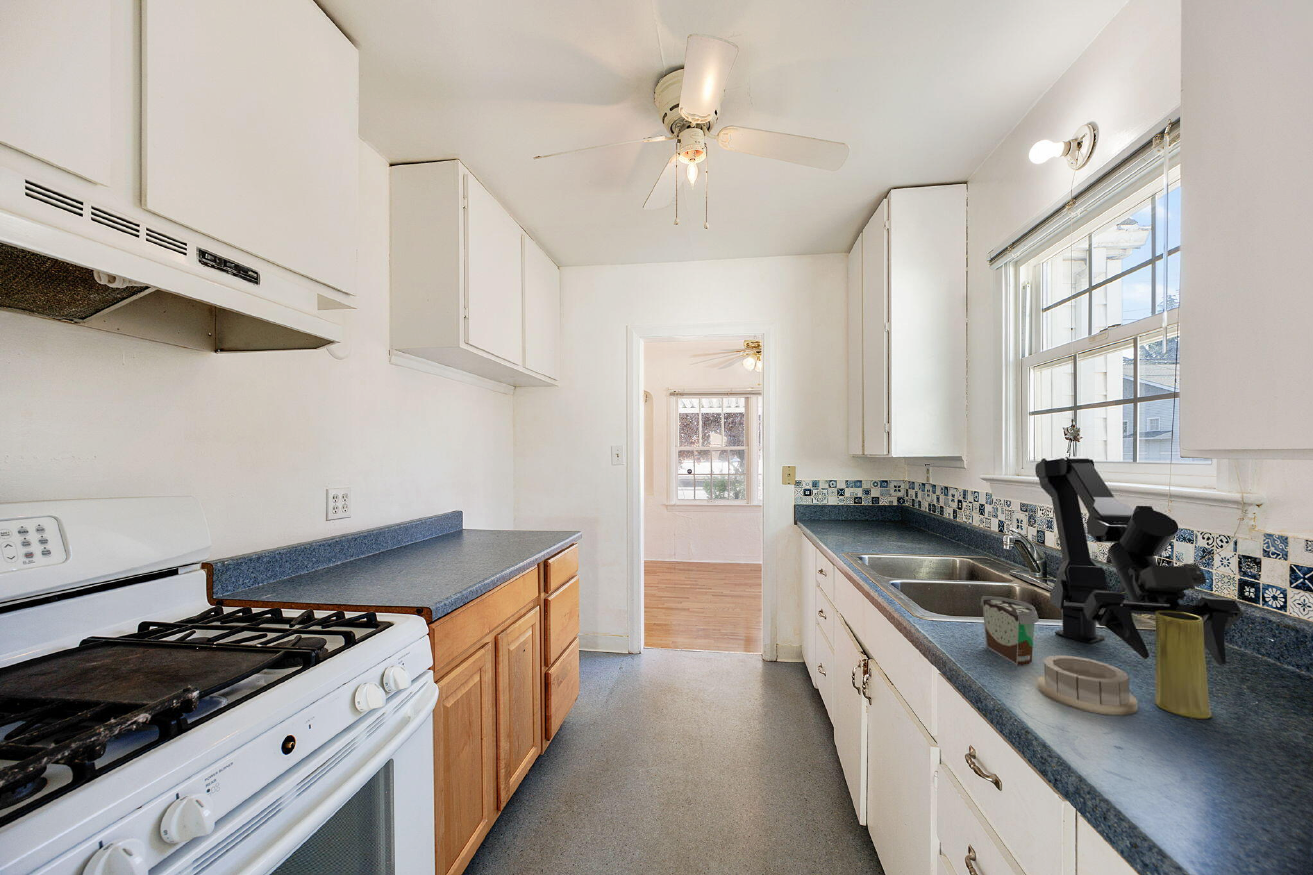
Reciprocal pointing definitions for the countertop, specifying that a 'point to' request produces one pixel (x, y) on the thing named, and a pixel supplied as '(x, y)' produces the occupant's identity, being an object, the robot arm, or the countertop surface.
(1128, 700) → the collar stand
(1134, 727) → the countertop surface
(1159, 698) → the vase
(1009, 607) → the food container
